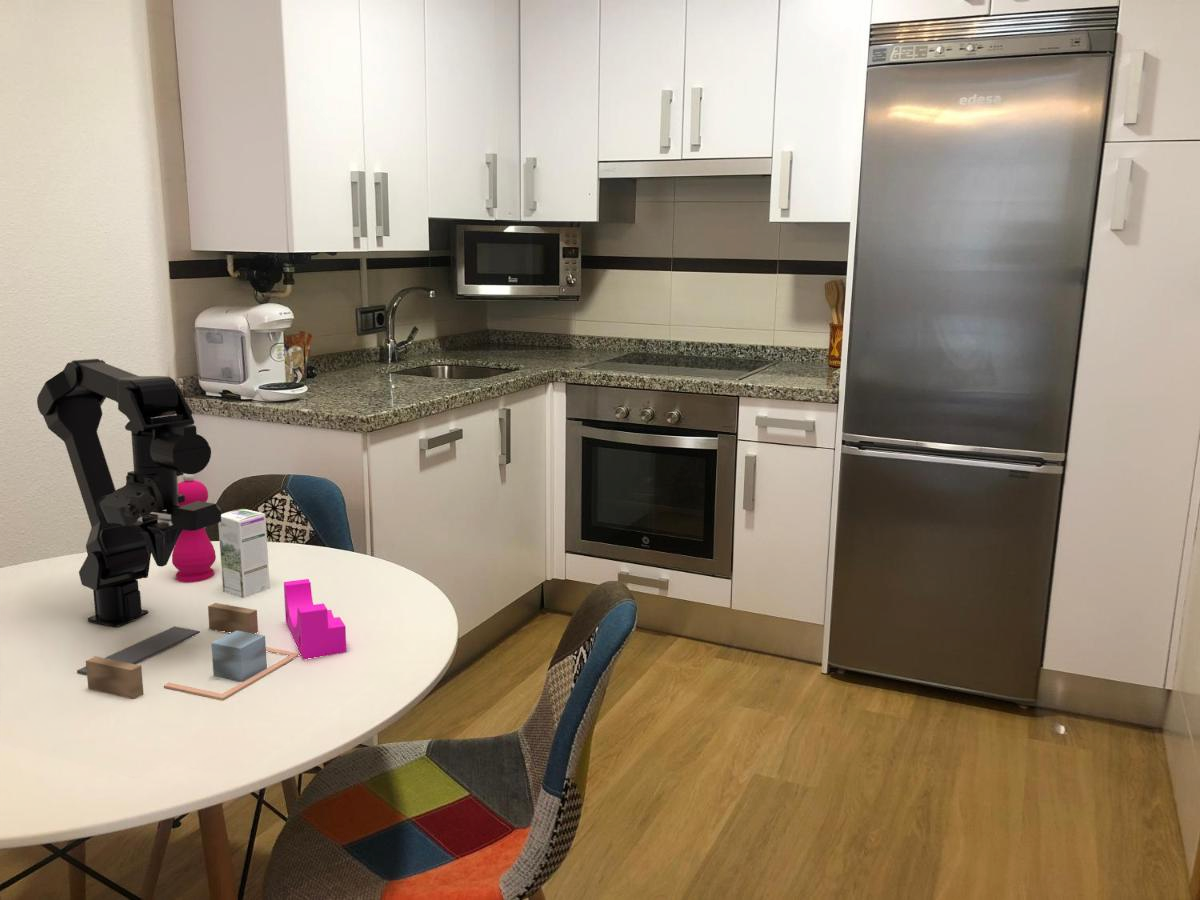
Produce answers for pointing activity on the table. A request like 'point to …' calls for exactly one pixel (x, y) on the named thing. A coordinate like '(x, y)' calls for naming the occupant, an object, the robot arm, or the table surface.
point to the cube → (239, 656)
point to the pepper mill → (193, 539)
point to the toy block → (312, 622)
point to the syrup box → (244, 552)
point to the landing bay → (241, 685)
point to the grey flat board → (150, 646)
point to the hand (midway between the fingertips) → (161, 565)
